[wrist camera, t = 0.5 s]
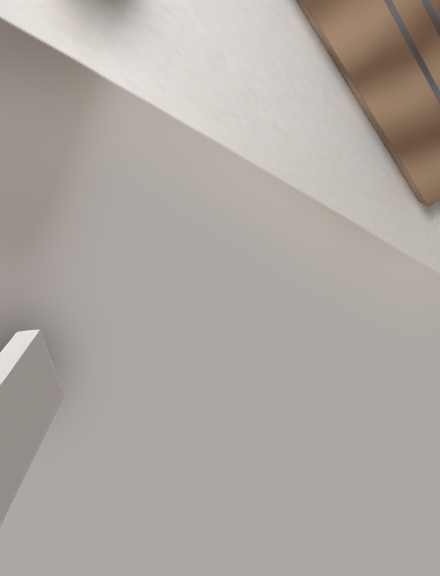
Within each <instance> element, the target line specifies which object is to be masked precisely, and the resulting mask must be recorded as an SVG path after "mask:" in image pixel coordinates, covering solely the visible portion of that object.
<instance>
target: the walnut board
mask: <svg viewBox="0 0 440 576" xmlns="http://www.w3.org/2000/svg"><path fill="white" fill-rule="evenodd" d="M297 2H298V3H299V5H300V7H301V8H302V10H303V11H304V13H305V15H306V16H307V18H308V20H309V21H310V23H311V25H312V26H313V28H314V30H315V31H316V33H317V34H318V36H319V38H320V39H321V41H322V43H323V44H324V46H325V48H326V49H327V51H328V53H329V54H330V56H331V57H332V59H333V61H334V62H335V64H336V66H337V67H338V69H339V71H340V72H341V74H342V76H343V77H344V79H345V80H346V82H347V84H348V85H349V87H350V89H351V90H352V92H353V94H354V95H355V97H356V99H357V100H358V102H359V103H360V105H361V107H362V108H363V110H364V112H365V113H366V115H367V117H368V118H369V120H370V122H371V123H372V125H373V126H374V128H375V130H376V131H377V133H378V135H379V136H380V138H381V140H382V141H383V143H384V144H385V146H386V148H387V149H388V151H389V153H390V154H391V156H392V158H393V159H394V161H395V163H396V164H397V166H398V167H399V169H400V171H401V172H402V174H403V176H404V177H405V179H406V181H407V182H408V184H409V186H410V187H411V189H412V190H413V192H414V194H415V195H416V197H417V199H418V200H419V201H420V202H422V203H423V204H425V205H427V206H428V207H429V206H430V205H432V204H433V203H435V202H436V201H438V200H439V199H440V0H297Z"/></svg>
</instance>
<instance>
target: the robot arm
mask: <svg viewBox="0 0 440 576" xmlns="http://www.w3.org/2000/svg"><path fill="white" fill-rule="evenodd" d="M63 397H64V394H63V391H62V388H61V385H60V383H59V380H58V377H57V374H56V372H55V369H54V366H53V364H52V361H51V358H50V355H49V353H48V350H47V347H46V344H45V342H44V339H43V336H42V333H41V331H40V330H30V331H20V332H17V333H16V334H15V335H14V336H13V338H12V339H11V341H10V342H9V343H8V344H7V345H6V346H5V348H4V349H3V350H2V351H1V353H0V526H1V524H2V522H3V520H4V518H5V516H6V514H7V512H8V510H9V507H10V506H11V503H12V501H13V499H14V497H15V495H16V493H17V491H18V489H19V487H20V485H21V483H22V481H23V479H24V477H25V475H26V473H27V471H28V469H29V467H30V465H31V463H32V461H33V458H34V456H35V454H36V452H37V450H38V448H39V446H40V444H41V442H42V440H43V438H44V436H45V434H46V432H47V430H48V428H49V426H50V424H51V422H52V420H53V418H54V415H55V414H56V412H57V409H58V407H59V405H60V403H61V401H62V399H63Z"/></svg>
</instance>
